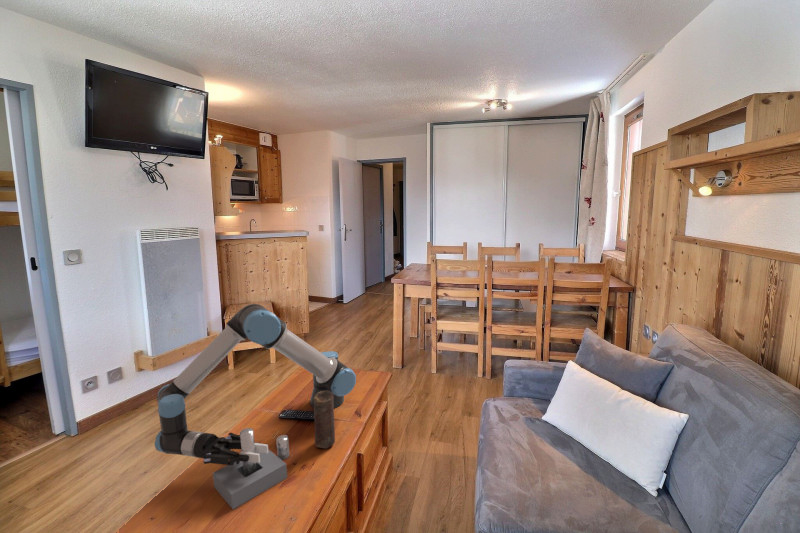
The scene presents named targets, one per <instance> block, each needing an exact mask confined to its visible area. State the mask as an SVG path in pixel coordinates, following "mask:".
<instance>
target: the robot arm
mask: <svg viewBox="0 0 800 533" xmlns="http://www.w3.org/2000/svg"><path fill="white" fill-rule="evenodd" d="M287 327H288V326H287V323H286V322H285V321H284V320H282V319H281V318H280V317H278V316H277V315H276V314H275V313H274V312H272V311H270V310H268V309H267V308H265V306H263V305H261V304H257V303H250V304H246V305H244V307H242V308H241V309H239V310H238V311H237V312H236V313H235V314H234V315H233V316H232V317H231V318H230V319H229V320H228V321H227V322H226V323H225V327H224V329H222V331H221V332H220V333H219V334H218V335H217V336H216V337H215V338H214V339H213V340H212V341H211V342H210V343H209V344H208V345H207V346H206V347H205V348H204V349H203V350H202V351H201V352H200V353H199V354H198V355H197V357H195V358H194V359H193V360H192V361H191V362H190V363H189V365H187V367H185V369H184V370H182V372H181V373H180V374H179V375H177V377H176V378H175V379H174V380H173V381H171V383H169V384H166V385H164V386H162V387H161V388H160V389H159V390H158V392H157V397H156V398H157V399H156V402H157V406H158V407H157V410H158V416H159V422H160V423H159V424H160V430H159V432H158V433H157V434H156V436H155V441H154V448H155V449H156V451H158V452H161V453H164V454H168V455H169V454H170V455H180V456H185V457H193V458H197V459H198V458H199V459H203V464H204V465H206V464H208V465H209V464H215V465H224V466H227V465H234V462H236V464H239V463H240V461H243V462H247V461H248V462H255V463H259V462H260V454H259V453H266V454H267V453H268V449H269V444H265V443H261V442H255V441H254V445H255V452H259V453H251V452H244V451H240V452H238V451H234V450H241V442H240V434H235V433H233V432H229V433H228V435H227V436H226V437H223V436H221V437H220V436H218V435H216V434H215V433H211V432H210V433H208V432H203V431H194V430H188V420H187V413H186V412H187V411H186V402H185V400H186V399H187V397H188V396H189V395H190V394H191V393H192V391H194V390H195V389H196V388H197V386H199V385H200V384H201V383H202V382H203V380H205V378H207V376H208V375H210V373H211V372H212V371H213V370H214V369H215V368H216V367H217V366H218V365H219V364H220V363H221V362H222V361H223V360H224V359H225V358H226V356H227V355H228V354H229V353H230V352H232V351H233V350H234V349H235V347H237V345H238V344H239V343H240V342H241V341H246V340H247V339H248V340H249V341H250V342H252V343H254V344H257V345H259V346H260V347H261V346H262V348H264V349H265V350H269V349H274V350H275V351H277V352H278V353H280V354H282V355H283V356H284V357H286V358H288V359H289V360H290V361H292V362H294V363H295V364H297V365H298V366H300V367H301V368H302V369H304V370H305V371H307V372H309V373H310V374H312V384H313V387H312V388H313V389H312V392H311V396H310V405H311V407H312V408H313V409H314V397H315V395H316V394H317V393H318V392H320V391H330V392H332V393H333V402H334V409H335V408H337V407H340V406H341V405H342V404H343V403H344V401H345V396H346V395H349V394H350V393H351V392H352V391H353V389H354V388H355V386H356V383H357V375H356V373H355V372H354V371H353V369H352V368H349V367H348V366H347V365H345V364H344V363H343V362H341V361H340V360H339V354H338V352H336V351H334V350H333V351H332V350H329V351H327V350H326V351H321V352H320V350H318V349H317V348H315V347H314V346H312V345H310V344H309V343H307V341H305V340H303V339H302V338H301V337H299V336H297V334H295V333H293V332H292V331H291V330H289V329H288V328H287Z"/></svg>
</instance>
